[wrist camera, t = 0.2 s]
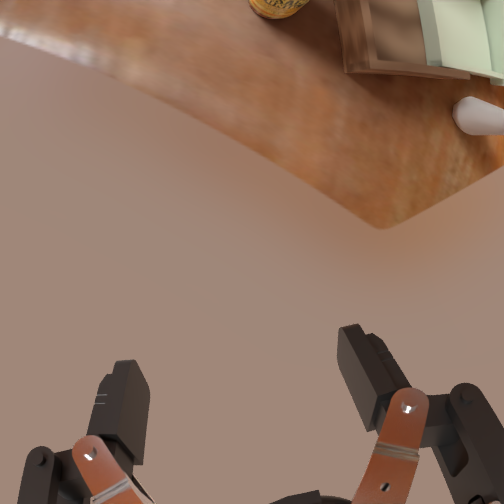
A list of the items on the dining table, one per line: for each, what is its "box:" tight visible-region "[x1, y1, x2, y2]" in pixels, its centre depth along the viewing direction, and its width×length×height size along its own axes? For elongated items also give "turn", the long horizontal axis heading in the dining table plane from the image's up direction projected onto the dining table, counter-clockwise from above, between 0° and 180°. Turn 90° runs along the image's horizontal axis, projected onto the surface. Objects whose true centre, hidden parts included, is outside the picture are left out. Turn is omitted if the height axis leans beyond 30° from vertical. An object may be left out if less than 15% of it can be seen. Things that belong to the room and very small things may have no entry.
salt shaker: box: [452, 96, 504, 135], centre depth 31 cm, size 6×6×13 cm
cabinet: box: [334, 0, 470, 80], centre depth 27 cm, size 18×15×7 cm
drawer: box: [417, 0, 504, 86], centre depth 26 cm, size 17×15×7 cm
